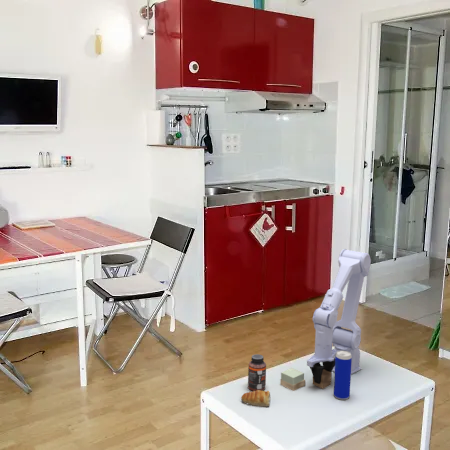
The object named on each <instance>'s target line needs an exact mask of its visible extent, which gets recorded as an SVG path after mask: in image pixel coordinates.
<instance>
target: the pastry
mask: <svg viewBox="0 0 450 450" xmlns="http://www.w3.org/2000/svg"><path fill="white" fill-rule="evenodd" d="M240 399H241V401H242V402H243V403H244V404H246V403H248V404H247V405H250V406H252V407H261V408H267V407H269V406H270V405H271V403H270V402H271V400H272V399H271V392H270V391H269V390H267V391H266V390H263V391H260V390H257V391H249V392H248V391H247V392H245V393H243V394H242V395H241V397H240Z"/></svg>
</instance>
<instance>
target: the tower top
mask: <svg viewBox="0 0 450 450" xmlns="http://www.w3.org/2000/svg"><path fill="white" fill-rule="evenodd" d="M280 379H281V380H283V381H286V382H288V383H290V384H292V385H294V384H297V383H299V382H301V381H303V380H305V373H304V372H303V371H300V370H298V369H295V368H292V367H290V368H289V369H286V370H284V371H282V372H280Z"/></svg>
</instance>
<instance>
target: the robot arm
mask: <svg viewBox="0 0 450 450" xmlns="http://www.w3.org/2000/svg"><path fill="white" fill-rule="evenodd" d="M337 259H338V261H337V263H338V267H339V268H338V271H337V273H336V277H335V280H334V281H333V286H332V287H331V288H330V289H328V290H327V291H326V293H325V295H324V297H323V299H322V302H321V304H320V306H319V307H318V308H316V309H315V310H314V312H313V316H312V323H313V327H314V330H315V335H314V336H315V339H314V353H313V355H311V356H310V357H309V358H308V359H307V360H306V367H309V369H310V370H311V374H312V379H313V378H314V382H315V383H317V384H320V382H321V376H322V372H323V369H324V370H327V371H329V372H331V373H332V372H334V373H335V356H336V353H337V352H338V351H347V352H350V353H351V356H352V362H351V375H352V374H354V373H357V372H359V371H361V370H362V367H360V360H361V351H360V348H359V346H360V345H361V341H362V338H361V335H362V328H361V327H360V326H359V325H358V324H357V322H356V321H357V315H358V310H359V305H360V300H361V295H362V291H363V285H364V280H365V278H366V277H367V276H368V275H369V273H370V268H371V262H372V259H371V256H370V254H369V253H368V252H364V251H363V252H362V251H358V250H351V249H346V248H343V249H341V250H340V252H339V256H338V258H337ZM346 286H347V289H346V293H345V298H344V294H343V291H344V290H345V288H346ZM343 300H344V303H343V307H342V308H343V309H342V314H341V318H340V319H339V320H338V316H339V311H338V310H339V308H340V306H341V304H342V301H343ZM333 347H334V348H333ZM321 363H322V365H321Z"/></svg>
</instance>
